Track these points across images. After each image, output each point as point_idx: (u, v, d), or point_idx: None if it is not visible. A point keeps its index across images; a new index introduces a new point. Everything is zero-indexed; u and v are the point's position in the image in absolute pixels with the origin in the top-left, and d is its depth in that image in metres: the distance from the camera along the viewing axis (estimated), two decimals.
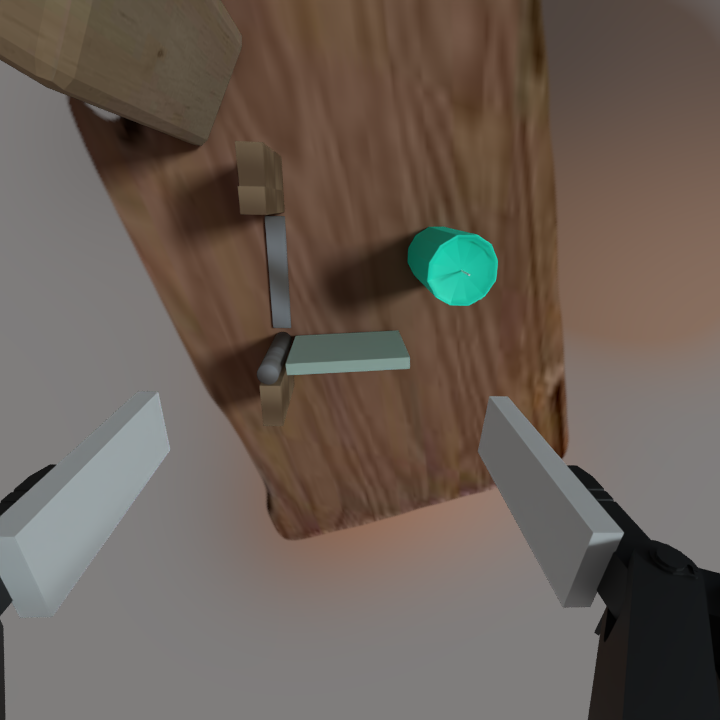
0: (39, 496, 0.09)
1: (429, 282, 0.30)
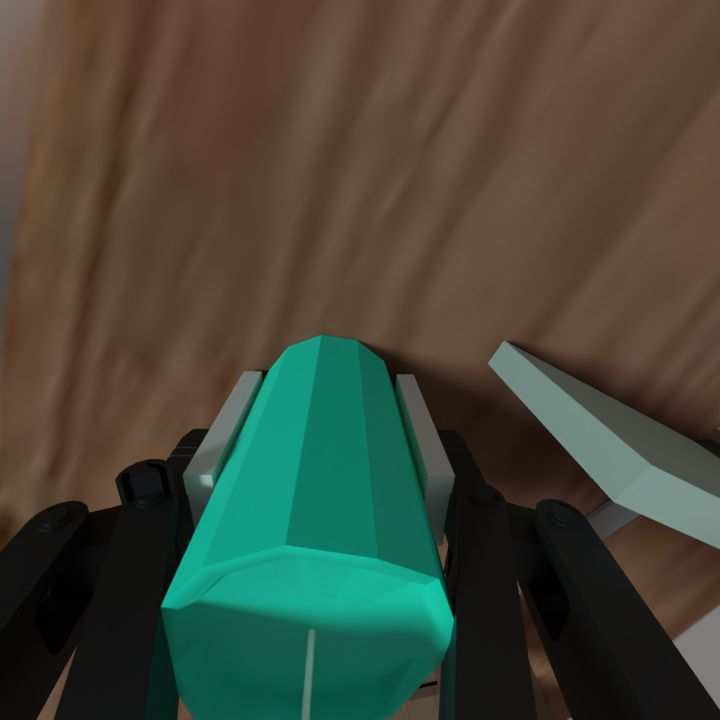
0: (212, 448, 0.11)
1: (435, 664, 0.08)
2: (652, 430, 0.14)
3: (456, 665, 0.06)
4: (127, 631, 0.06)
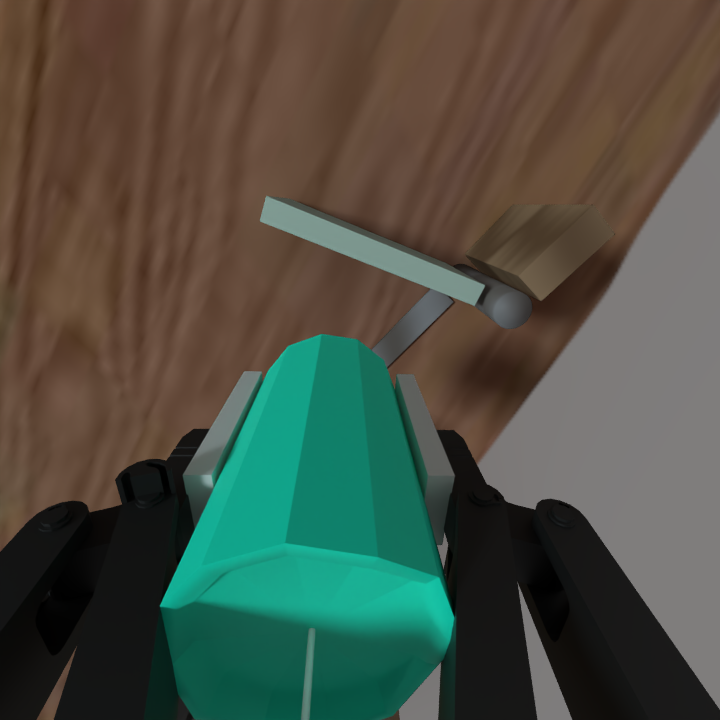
0: (213, 448, 0.11)
1: (435, 663, 0.08)
2: (364, 231, 0.22)
3: (456, 665, 0.06)
4: (127, 631, 0.06)
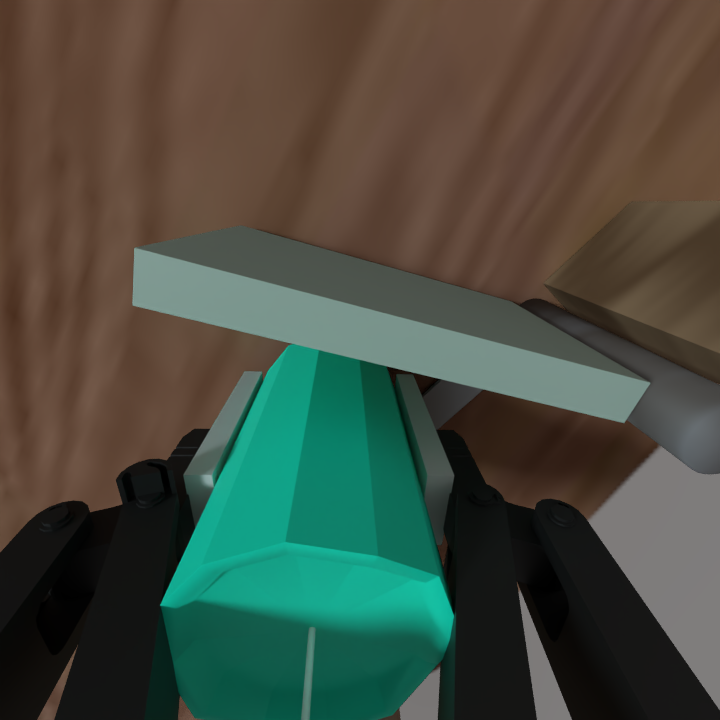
0: (213, 447, 0.11)
1: (435, 662, 0.08)
2: (374, 275, 0.12)
3: (456, 665, 0.06)
4: (127, 631, 0.06)
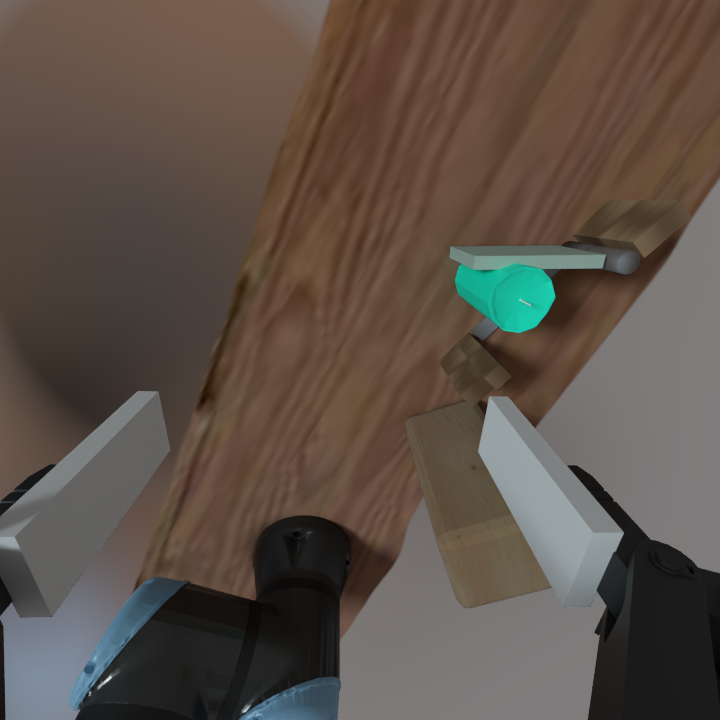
0: (39, 496, 0.09)
1: (547, 311, 0.33)
2: (510, 249, 0.37)
3: None
4: None
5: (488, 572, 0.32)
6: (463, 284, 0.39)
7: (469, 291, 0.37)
